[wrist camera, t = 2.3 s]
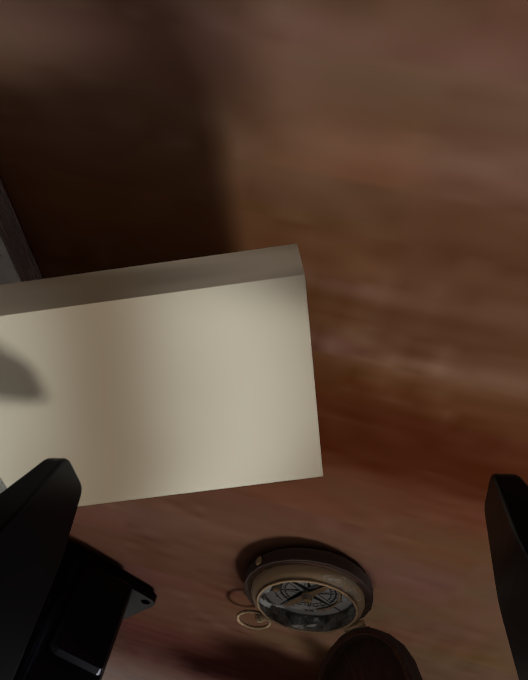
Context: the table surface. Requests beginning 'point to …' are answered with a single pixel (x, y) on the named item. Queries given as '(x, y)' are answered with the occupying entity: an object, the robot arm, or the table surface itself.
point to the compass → (326, 611)
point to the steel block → (2, 486)
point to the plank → (162, 376)
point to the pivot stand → (14, 247)
